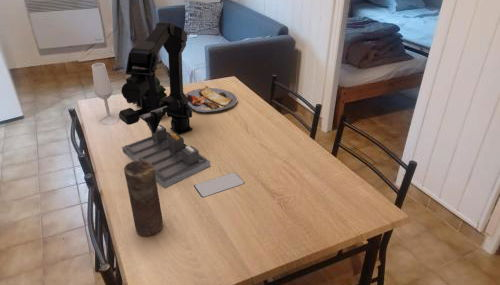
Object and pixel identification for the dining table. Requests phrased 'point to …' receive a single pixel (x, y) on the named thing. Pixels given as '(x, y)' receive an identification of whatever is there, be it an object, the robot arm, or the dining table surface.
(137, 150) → the panel
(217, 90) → the food plate
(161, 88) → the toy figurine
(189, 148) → the breaker
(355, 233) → the dining table surface
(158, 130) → the block
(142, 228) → the candle
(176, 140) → the breaker mid
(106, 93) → the champagne flute
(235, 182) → the smartphone
